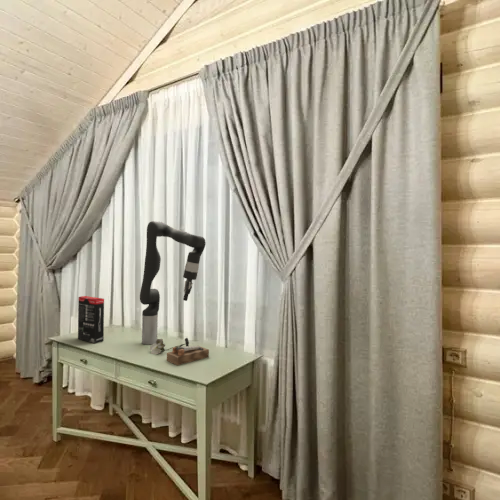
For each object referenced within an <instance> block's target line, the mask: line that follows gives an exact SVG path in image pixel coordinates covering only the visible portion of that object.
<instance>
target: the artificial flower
mask: <svg viewBox="0 0 500 500" xmlns="http://www.w3.org/2000/svg"><path fill="white" fill-rule="evenodd" d="M184 342H185V343H184V344H182V343H181V344H180V345H176V346H173V347H184V346H190V342H189V338H188V337H186V338H185V337H184ZM165 347H166V344H165V343H164V340H163V338H157V340H156V343H154V344H150V346H149V351H151V352H150V355H157V354H161V352H165V351H169V350H172V349H173V347H170V348H168V349H167V348H166V349H165Z"/></svg>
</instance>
